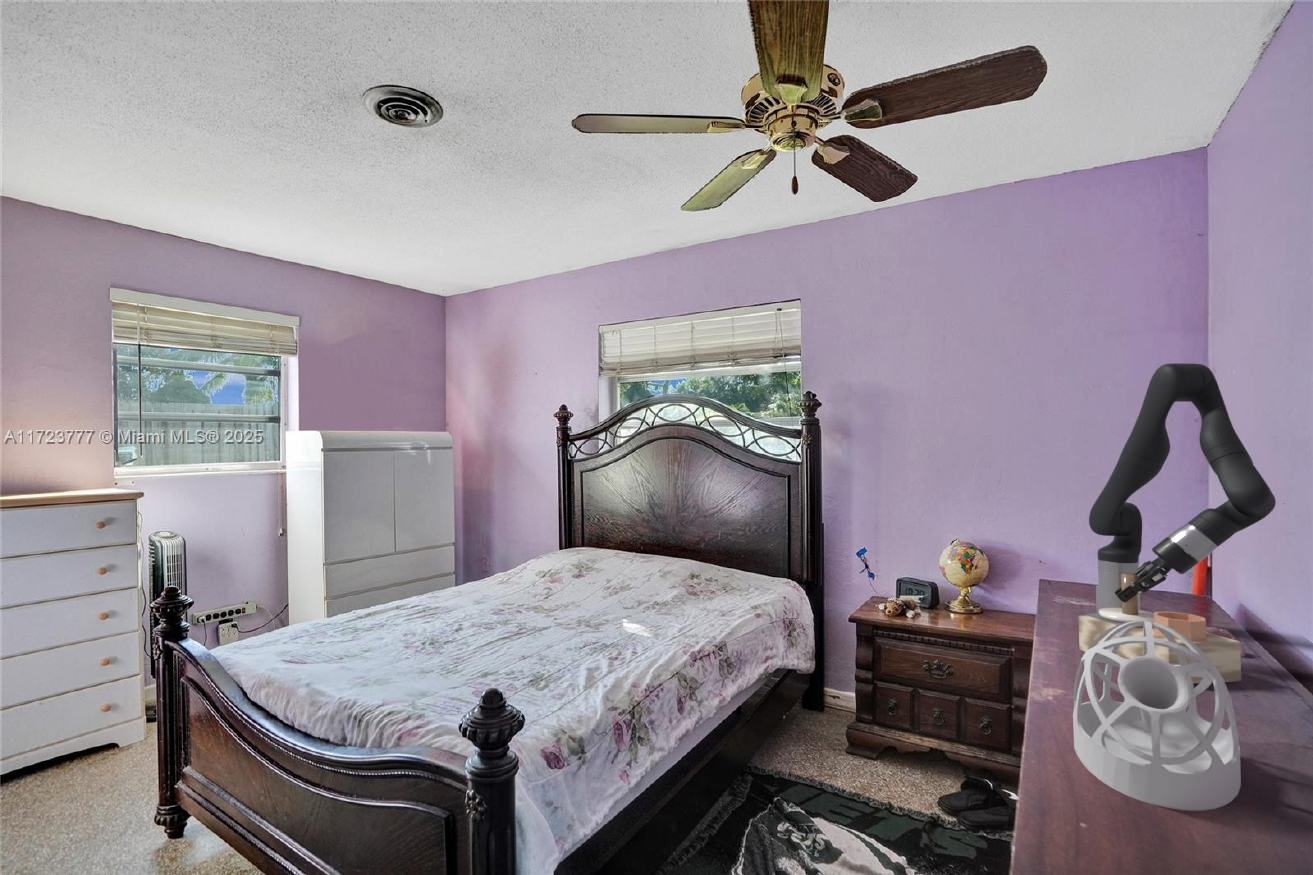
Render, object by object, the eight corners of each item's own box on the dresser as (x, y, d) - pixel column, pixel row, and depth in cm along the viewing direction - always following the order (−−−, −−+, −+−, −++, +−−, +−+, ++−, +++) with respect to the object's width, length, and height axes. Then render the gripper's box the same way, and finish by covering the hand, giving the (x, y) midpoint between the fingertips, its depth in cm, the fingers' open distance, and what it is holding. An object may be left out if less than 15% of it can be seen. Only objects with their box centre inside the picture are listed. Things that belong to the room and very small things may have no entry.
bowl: (1144, 630, 140) (1143, 612, 140) (1179, 629, 141) (1179, 611, 141) (1179, 641, 132) (1179, 622, 132) (1217, 640, 132) (1216, 620, 133)
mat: (1086, 615, 154) (1086, 613, 154) (1132, 614, 155) (1132, 612, 155) (1128, 628, 142) (1128, 626, 142) (1177, 626, 143) (1177, 625, 143)
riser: (1079, 649, 154) (1078, 615, 154) (1141, 647, 155) (1140, 613, 155) (1169, 684, 130) (1168, 644, 130) (1241, 681, 131) (1240, 641, 132)
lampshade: (1076, 721, 112) (1229, 751, 100) (1067, 784, 90) (1261, 831, 79) (1073, 603, 112) (1225, 619, 101) (1063, 637, 91) (1256, 662, 79)
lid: (1086, 612, 154) (1085, 570, 154) (1132, 611, 155) (1131, 569, 156) (1128, 625, 142) (1126, 579, 143) (1177, 624, 143) (1176, 578, 144)
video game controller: (1235, 659, 151) (1223, 629, 154) (1249, 656, 147) (1237, 625, 150) (1189, 658, 151) (1179, 628, 155) (1202, 655, 147) (1191, 624, 151)
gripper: (1162, 532, 152) (1101, 580, 157) (1175, 539, 140) (1108, 590, 145) (1192, 557, 149) (1128, 604, 155) (1208, 565, 137) (1138, 617, 142)
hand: (1119, 597), depth 150 cm, fingers closed on lid, 3 cm apart
